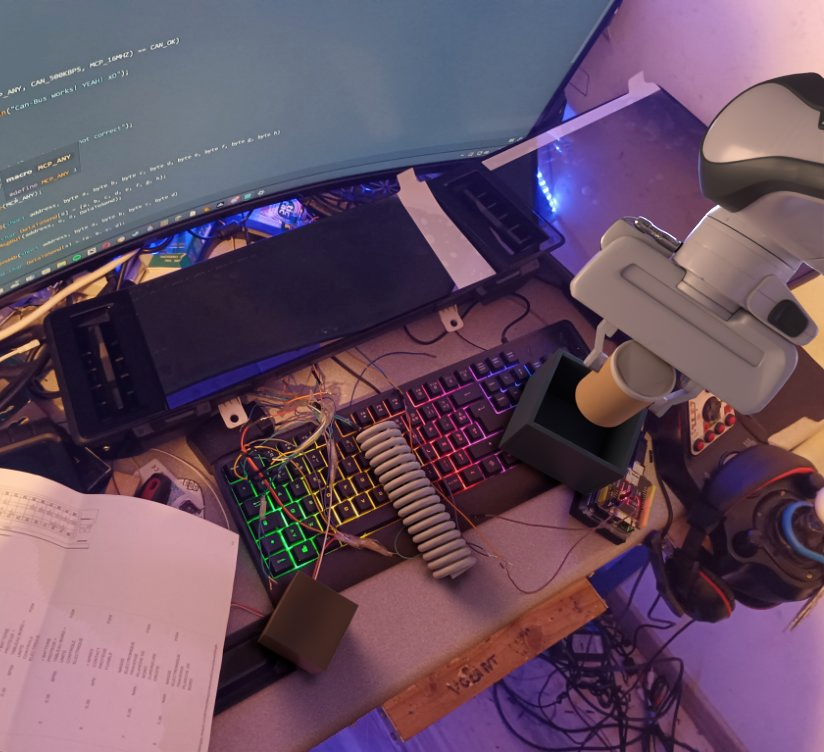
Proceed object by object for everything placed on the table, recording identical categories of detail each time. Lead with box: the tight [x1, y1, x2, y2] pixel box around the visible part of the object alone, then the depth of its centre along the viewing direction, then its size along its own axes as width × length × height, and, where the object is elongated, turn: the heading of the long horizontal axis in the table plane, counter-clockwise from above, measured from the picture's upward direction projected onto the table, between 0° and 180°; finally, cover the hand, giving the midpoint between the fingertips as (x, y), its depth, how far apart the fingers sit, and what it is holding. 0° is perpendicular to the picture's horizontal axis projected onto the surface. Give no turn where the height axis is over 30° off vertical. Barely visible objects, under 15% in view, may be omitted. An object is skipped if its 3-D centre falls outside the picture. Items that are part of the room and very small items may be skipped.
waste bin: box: [498, 348, 649, 497], centre depth 79 cm, size 11×10×9 cm
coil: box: [355, 420, 477, 580], centre depth 76 cm, size 5×5×18 cm
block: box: [257, 570, 360, 674], centre depth 66 cm, size 6×6×11 cm
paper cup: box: [576, 339, 677, 427], centre depth 70 cm, size 6×6×8 cm
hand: (621, 389), depth 69 cm, fingers closed on paper cup, 6 cm apart
